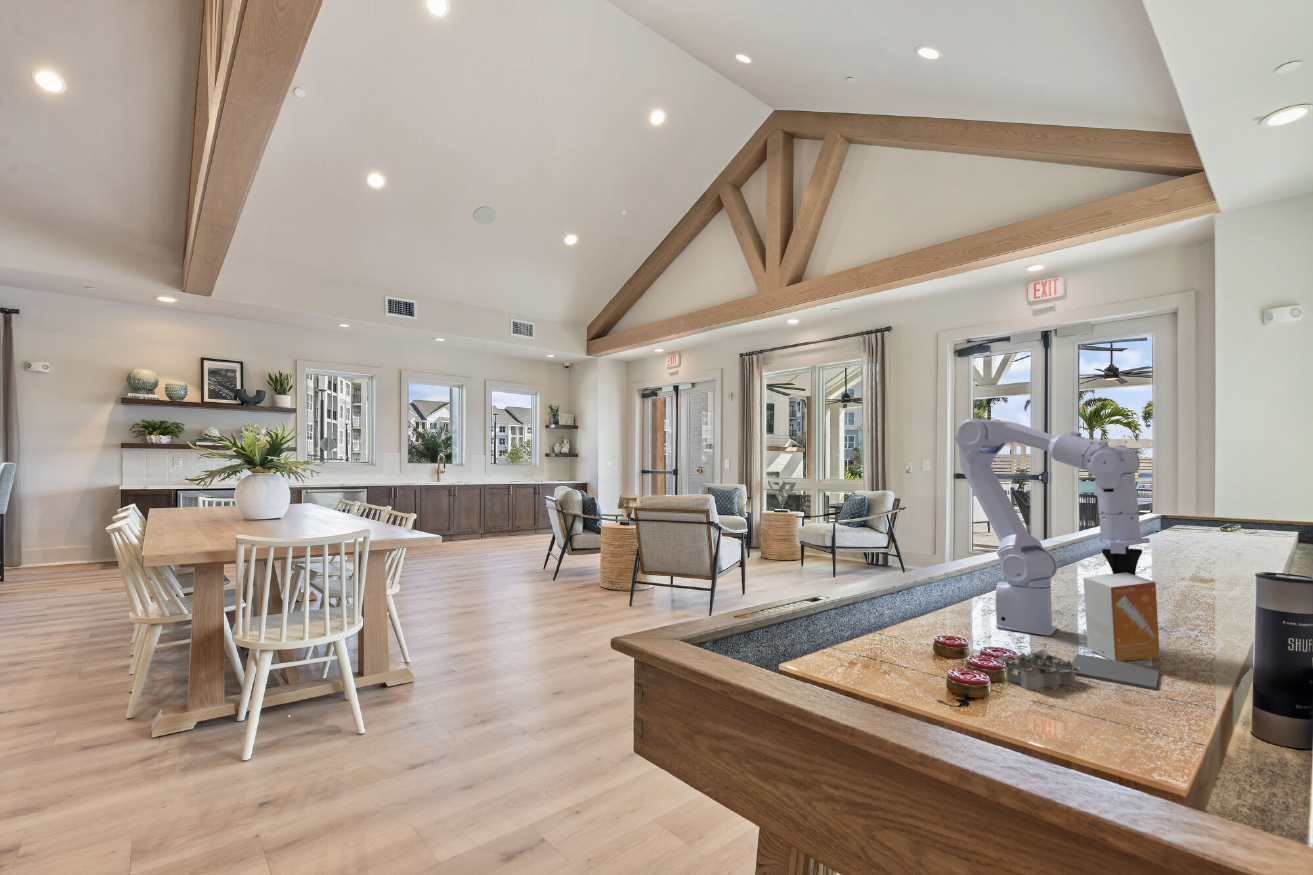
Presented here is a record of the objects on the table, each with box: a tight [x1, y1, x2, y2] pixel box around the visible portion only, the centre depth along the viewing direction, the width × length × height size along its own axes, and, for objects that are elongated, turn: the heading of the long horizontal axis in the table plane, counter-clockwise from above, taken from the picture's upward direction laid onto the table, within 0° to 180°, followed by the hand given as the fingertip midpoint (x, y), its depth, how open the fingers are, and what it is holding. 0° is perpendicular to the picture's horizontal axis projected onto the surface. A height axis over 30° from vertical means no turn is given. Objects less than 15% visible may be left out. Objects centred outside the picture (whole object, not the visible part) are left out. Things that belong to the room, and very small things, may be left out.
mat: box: [1071, 653, 1161, 691], centre depth 97 cm, size 11×11×1 cm
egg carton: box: [995, 649, 1081, 692], centre depth 94 cm, size 10×7×4 cm
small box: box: [1082, 572, 1161, 662], centre depth 105 cm, size 8×6×13 cm
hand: (1125, 590), depth 108 cm, fingers closed, pressing on small box
